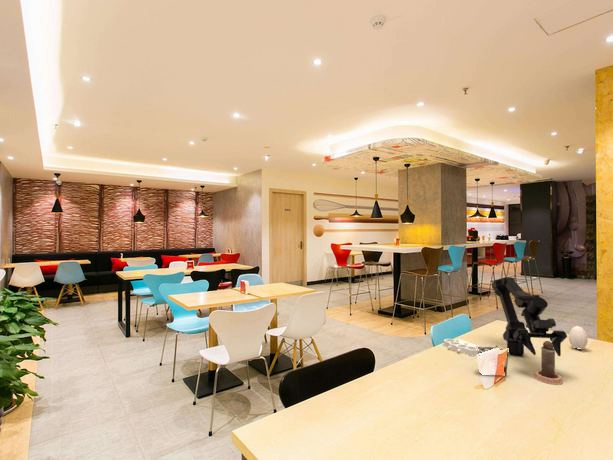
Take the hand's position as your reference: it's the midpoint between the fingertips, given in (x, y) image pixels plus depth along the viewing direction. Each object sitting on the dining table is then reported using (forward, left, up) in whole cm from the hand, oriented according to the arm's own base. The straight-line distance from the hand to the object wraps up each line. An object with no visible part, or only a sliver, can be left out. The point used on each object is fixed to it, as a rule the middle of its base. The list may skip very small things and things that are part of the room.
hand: (547, 355), depth 136 cm
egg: (+22, +47, -10) cm, 53 cm away
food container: (-20, -4, -10) cm, 23 cm away
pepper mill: (0, -1, -9) cm, 9 cm away
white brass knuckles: (-31, +21, -10) cm, 39 cm away
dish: (0, -1, -9) cm, 9 cm away
